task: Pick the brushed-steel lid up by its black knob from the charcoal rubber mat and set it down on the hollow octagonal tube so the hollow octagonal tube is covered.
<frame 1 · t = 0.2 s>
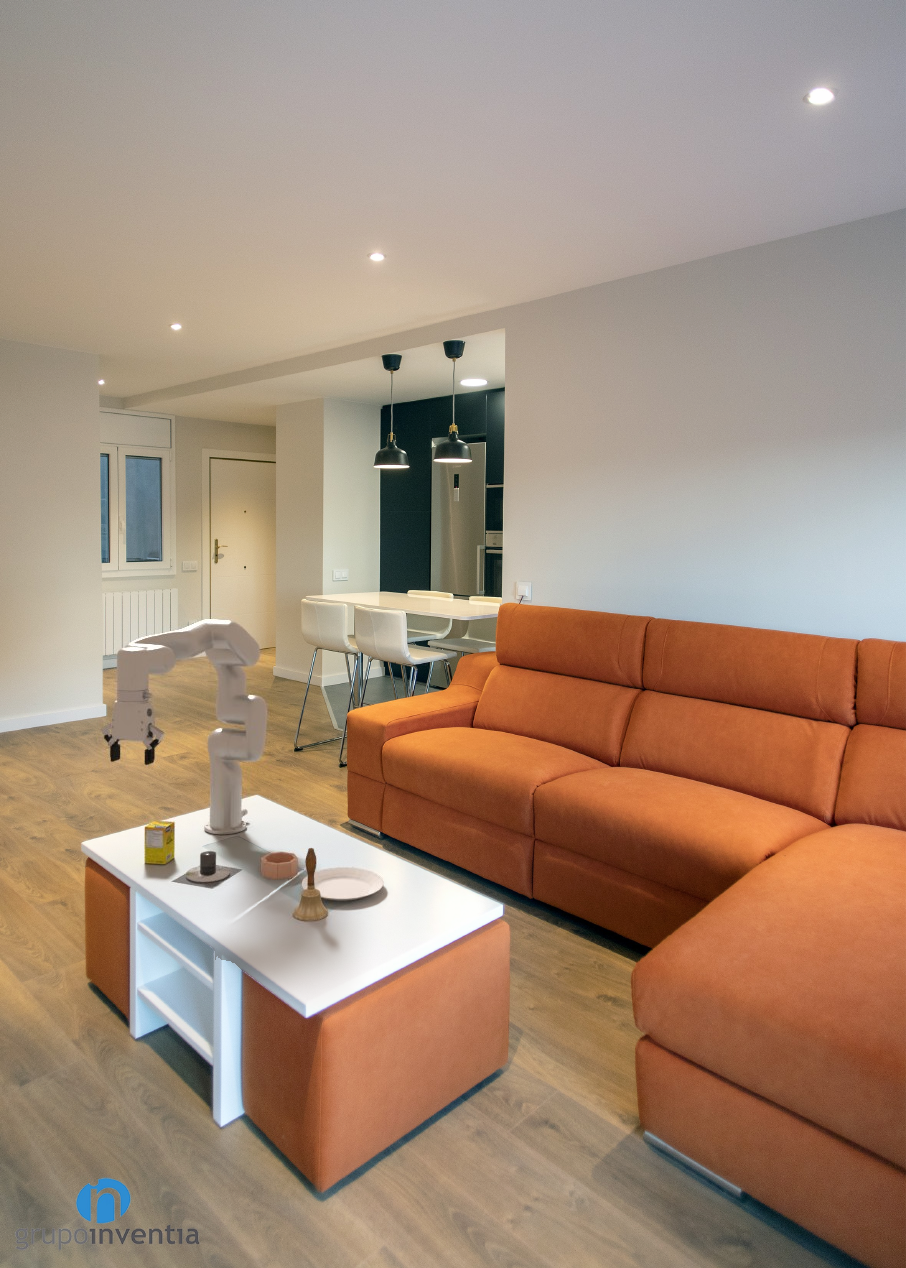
hand: (132, 762, 206), 31 cm above the table, fingers open, 9 cm apart
mat: (207, 877, 211), on the table
lid: (207, 875, 211), point 1 cm above the table, touching mat
plate: (342, 891, 206), on the table
supplement box: (159, 863, 220), on the table
hollow octagonal tube: (279, 874, 215), on the table
hand bell: (310, 914, 191), on the table
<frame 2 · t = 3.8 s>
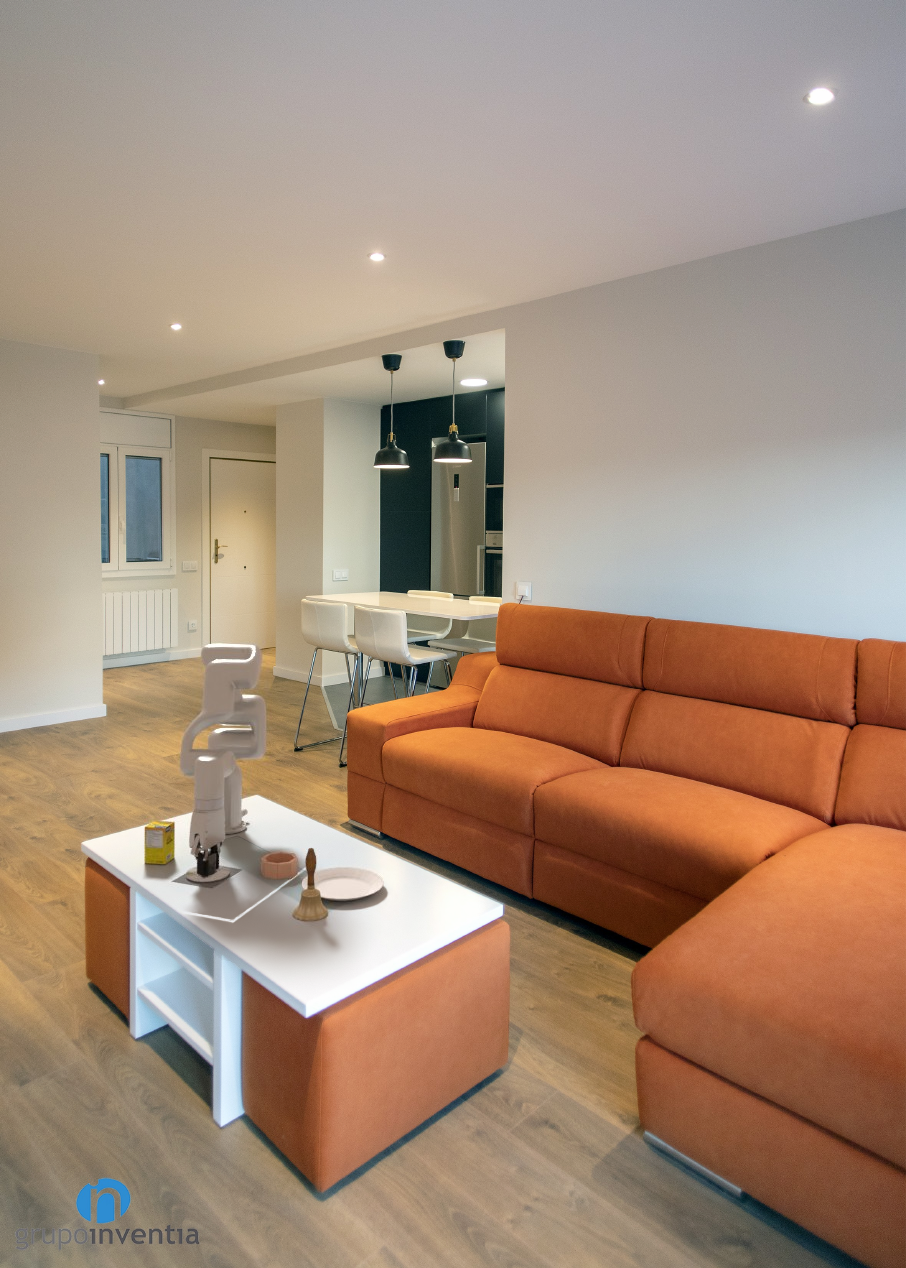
hand: (208, 870, 211), 2 cm above the table, fingers closed on lid, 4 cm apart
lid: (207, 875, 211), point 1 cm above the table, touching gripper, mat
everything else where it was.
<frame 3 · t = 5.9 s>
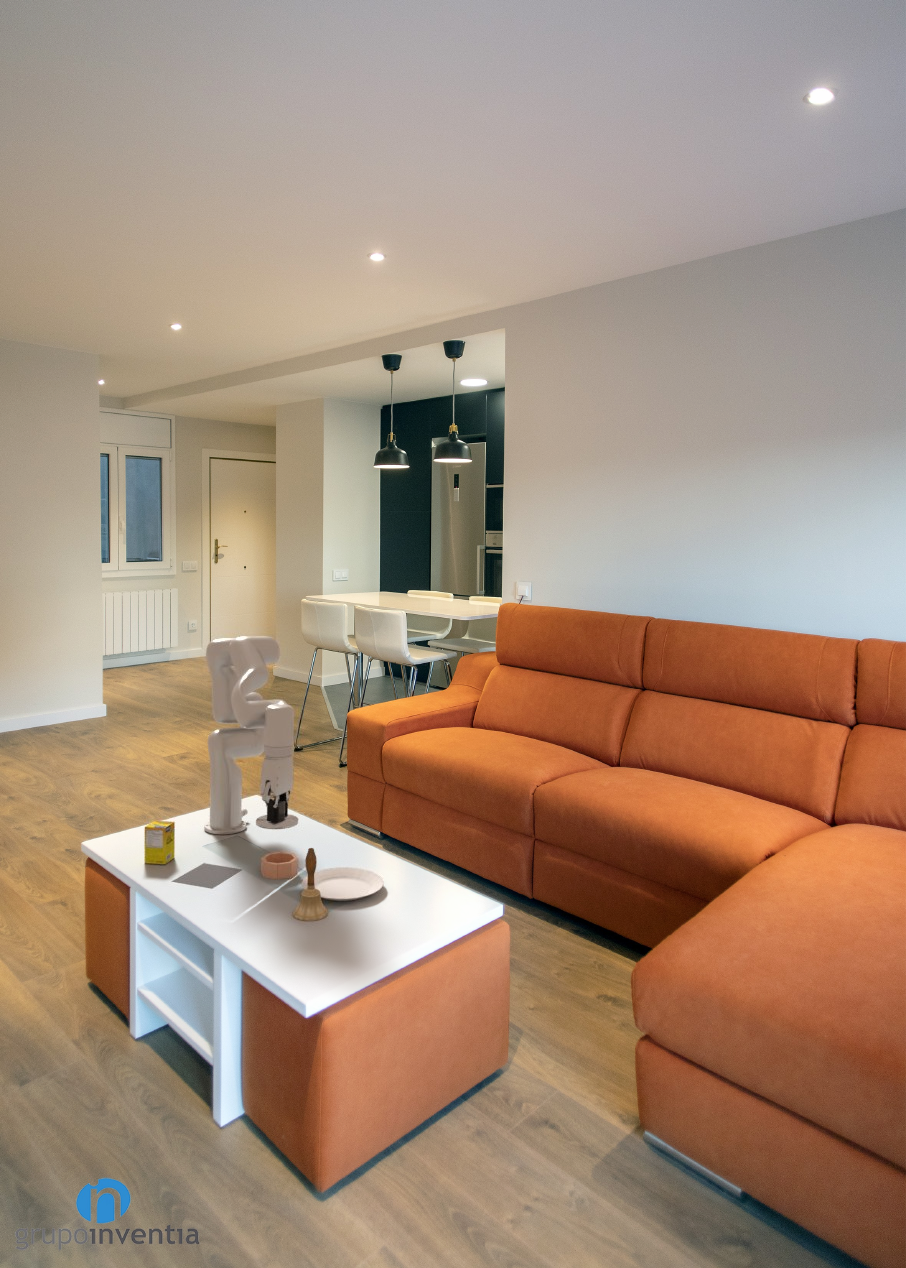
hand: (277, 818, 213), 15 cm above the table, fingers closed on lid, 4 cm apart
lid: (277, 822, 213), point 14 cm above the table, touching gripper
everything else where it was.
when the fingers open (7 cm above the table, at t = 7.9 s): lid drops 1 cm, resting on hollow octagonal tube.
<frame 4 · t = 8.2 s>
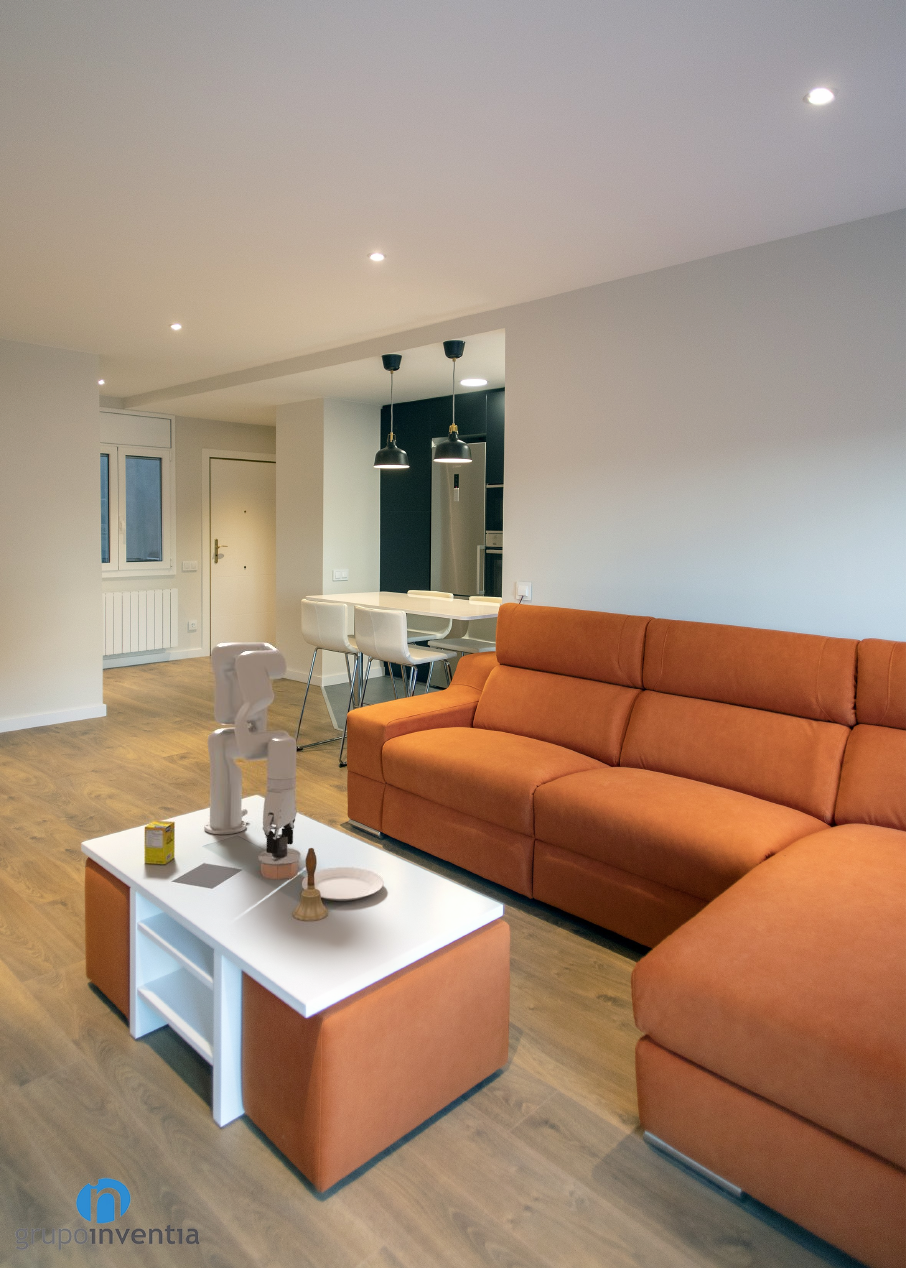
hand: (279, 847, 214), 7 cm above the table, fingers open, 7 cm apart
lid: (279, 857, 214), point 4 cm above the table, touching hollow octagonal tube
everything else where it was.
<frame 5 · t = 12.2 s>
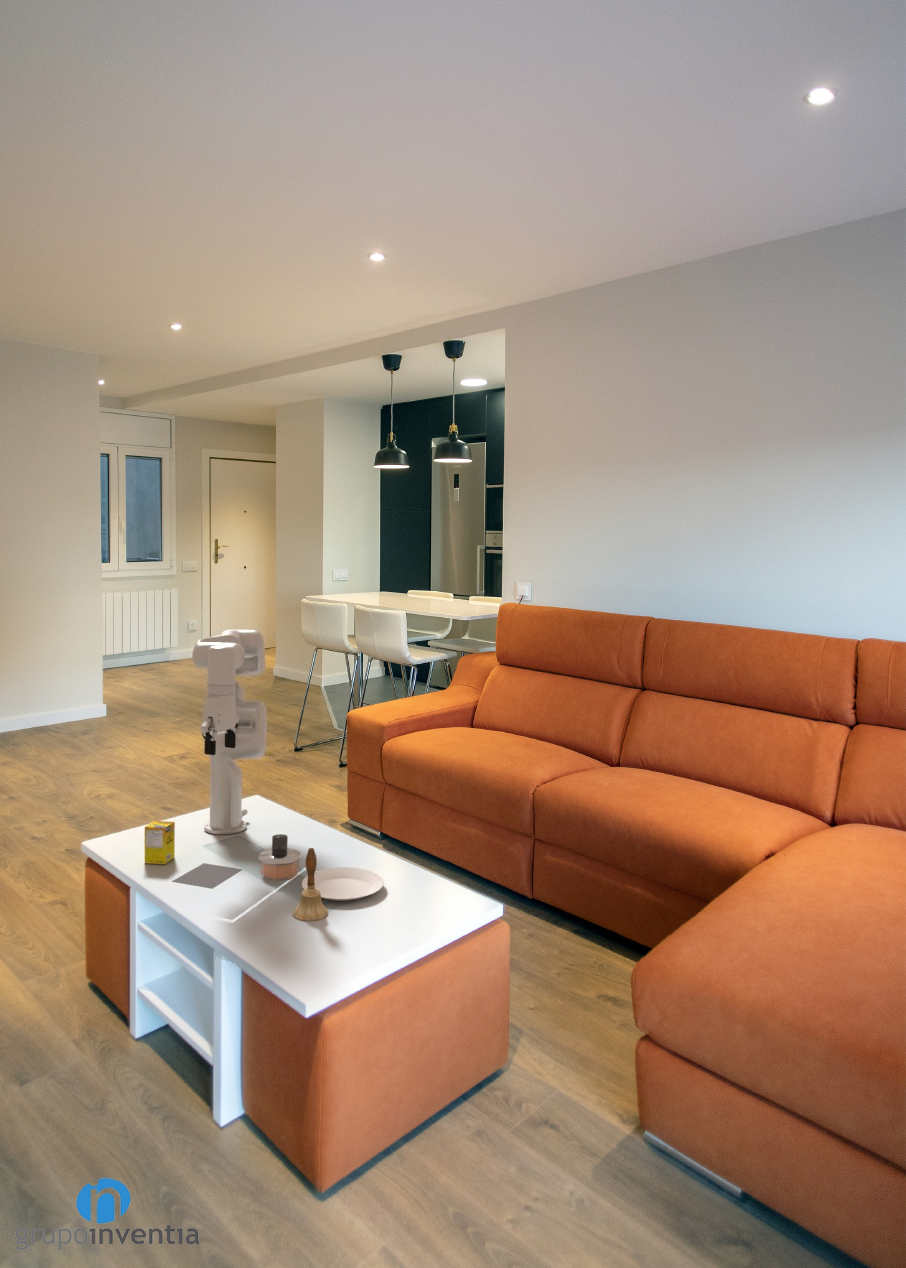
hand: (220, 750, 224), 30 cm above the table, fingers open, 9 cm apart
nothing on the table moved.
at the end: lid 0.1 cm off-centre on the hollow octagonal tube, point 4.5 cm above the hollow octagonal tube's base; lid tilted 0°; the gripper is holding nothing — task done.
